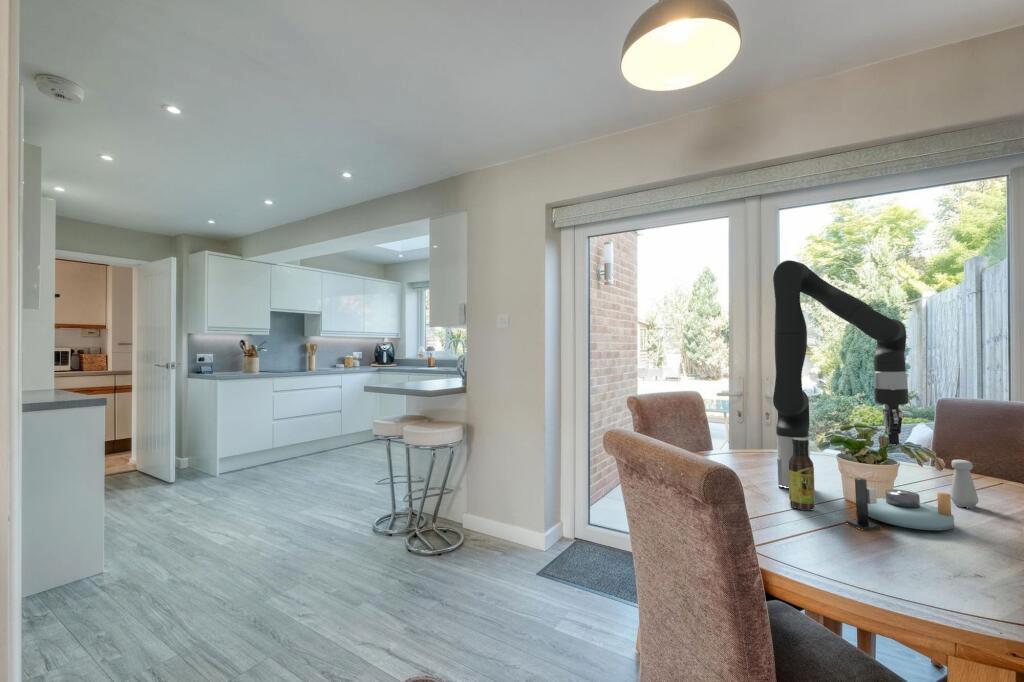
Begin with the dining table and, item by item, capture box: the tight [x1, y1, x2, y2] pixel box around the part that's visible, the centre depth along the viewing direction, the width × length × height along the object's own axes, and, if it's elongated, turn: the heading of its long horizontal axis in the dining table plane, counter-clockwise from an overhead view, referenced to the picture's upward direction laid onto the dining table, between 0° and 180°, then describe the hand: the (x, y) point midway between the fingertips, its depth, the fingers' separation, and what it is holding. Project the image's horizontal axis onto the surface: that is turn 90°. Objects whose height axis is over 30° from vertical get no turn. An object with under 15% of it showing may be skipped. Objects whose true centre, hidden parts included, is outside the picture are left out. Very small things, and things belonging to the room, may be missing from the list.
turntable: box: [868, 492, 955, 531], centre depth 119 cm, size 18×18×7 cm
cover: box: [884, 488, 921, 509], centre depth 122 cm, size 7×7×3 cm
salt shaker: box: [949, 459, 979, 509], centre depth 129 cm, size 6×6×13 cm
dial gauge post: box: [845, 477, 882, 531], centre depth 116 cm, size 6×5×12 cm
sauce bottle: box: [788, 438, 816, 511], centre depth 131 cm, size 6×6×20 cm
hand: (893, 447), depth 130 cm, fingers closed
